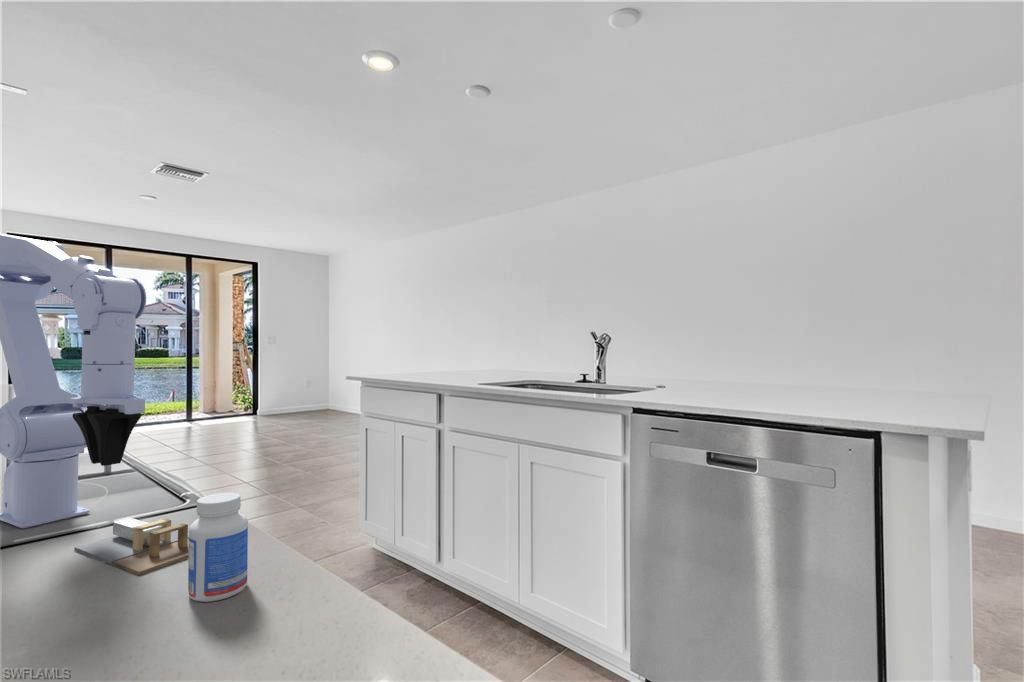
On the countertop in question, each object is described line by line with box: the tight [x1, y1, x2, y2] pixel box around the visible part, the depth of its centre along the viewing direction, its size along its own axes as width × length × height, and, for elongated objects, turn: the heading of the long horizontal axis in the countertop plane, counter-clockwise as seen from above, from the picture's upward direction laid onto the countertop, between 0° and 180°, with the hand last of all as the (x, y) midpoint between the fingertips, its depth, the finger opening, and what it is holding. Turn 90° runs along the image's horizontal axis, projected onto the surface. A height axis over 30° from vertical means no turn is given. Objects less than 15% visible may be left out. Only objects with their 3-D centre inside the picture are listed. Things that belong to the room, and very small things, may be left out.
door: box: [73, 518, 189, 565], centre depth 66 cm, size 9×10×3 cm
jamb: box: [112, 522, 189, 576], centre depth 63 cm, size 5×10×3 cm, turn 153°
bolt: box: [112, 517, 164, 546], centre depth 66 cm, size 8×2×2 cm, turn 63°
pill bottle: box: [187, 492, 249, 603], centre depth 54 cm, size 6×5×10 cm
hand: (106, 463), depth 70 cm, fingers closed
